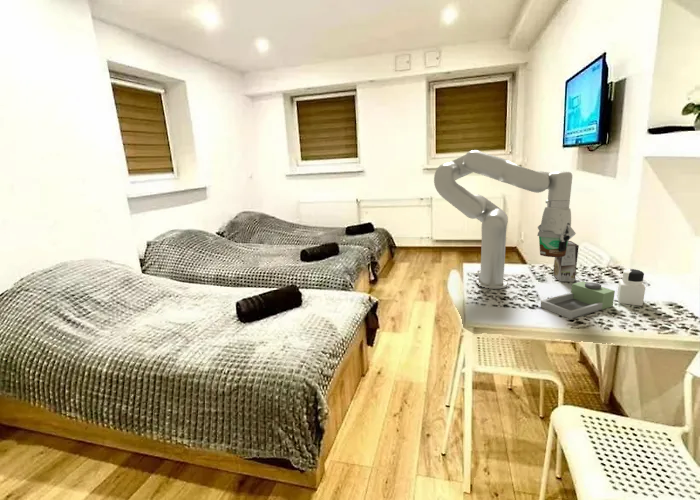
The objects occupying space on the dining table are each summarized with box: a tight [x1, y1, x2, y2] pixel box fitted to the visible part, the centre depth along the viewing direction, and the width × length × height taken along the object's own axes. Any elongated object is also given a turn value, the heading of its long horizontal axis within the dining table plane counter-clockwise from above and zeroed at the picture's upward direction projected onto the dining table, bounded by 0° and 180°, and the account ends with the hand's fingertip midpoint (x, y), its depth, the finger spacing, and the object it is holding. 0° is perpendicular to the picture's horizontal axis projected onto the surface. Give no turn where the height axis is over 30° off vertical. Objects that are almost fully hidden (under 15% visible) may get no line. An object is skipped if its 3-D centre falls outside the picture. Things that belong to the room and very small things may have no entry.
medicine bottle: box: [616, 268, 646, 307], centre depth 137 cm, size 7×7×12 cm
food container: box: [537, 230, 569, 258], centre depth 147 cm, size 12×6×10 cm, turn 88°
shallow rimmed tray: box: [540, 281, 616, 320], centre depth 136 cm, size 12×22×7 cm, turn 114°
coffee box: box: [552, 240, 580, 283], centre depth 164 cm, size 9×6×16 cm
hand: (553, 248), depth 149 cm, fingers closed on food container, 6 cm apart
